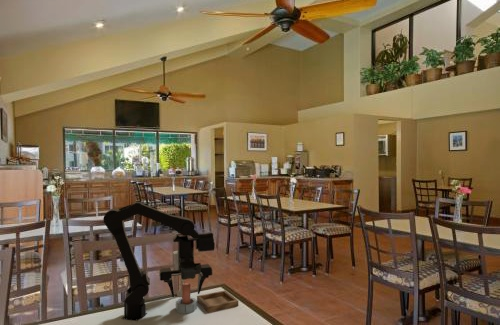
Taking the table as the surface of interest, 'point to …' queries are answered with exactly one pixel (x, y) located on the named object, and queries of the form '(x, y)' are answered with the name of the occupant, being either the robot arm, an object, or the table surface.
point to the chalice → (177, 269)
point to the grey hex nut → (186, 306)
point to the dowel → (186, 293)
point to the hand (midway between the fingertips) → (185, 295)
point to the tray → (217, 301)
